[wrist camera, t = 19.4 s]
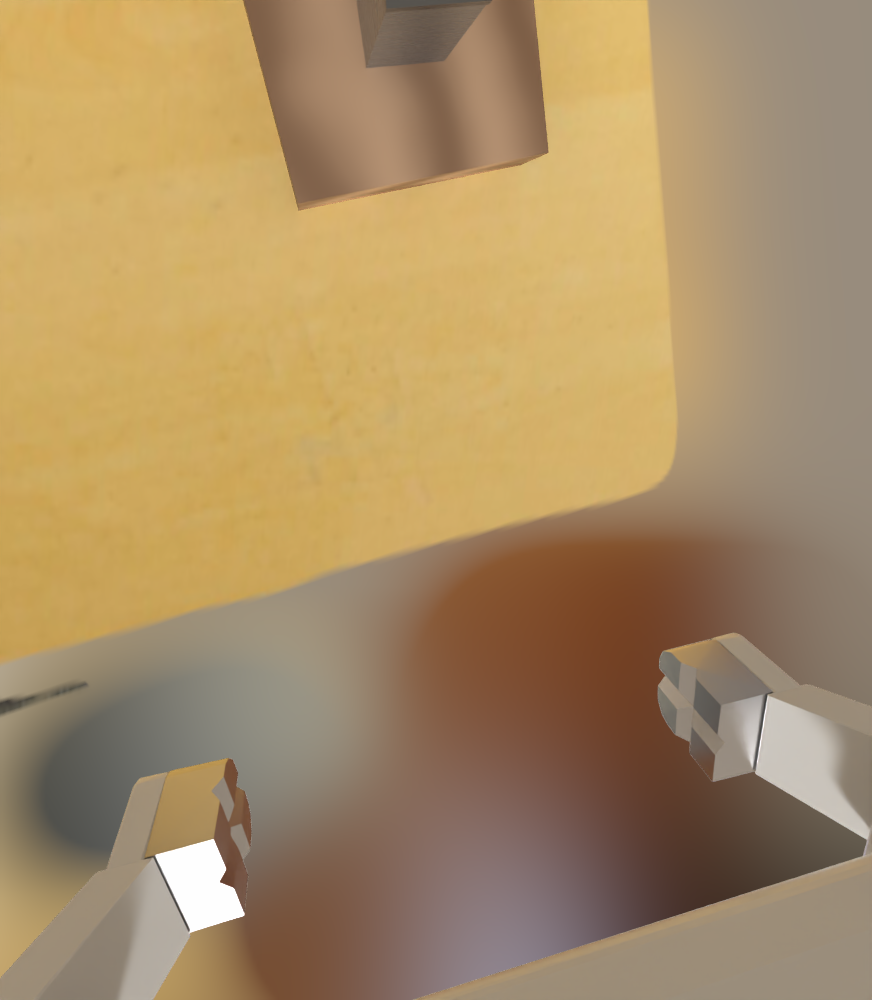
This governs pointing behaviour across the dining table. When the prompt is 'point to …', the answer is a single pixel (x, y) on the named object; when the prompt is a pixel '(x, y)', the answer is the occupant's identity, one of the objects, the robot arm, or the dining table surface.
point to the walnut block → (396, 100)
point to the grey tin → (413, 29)
